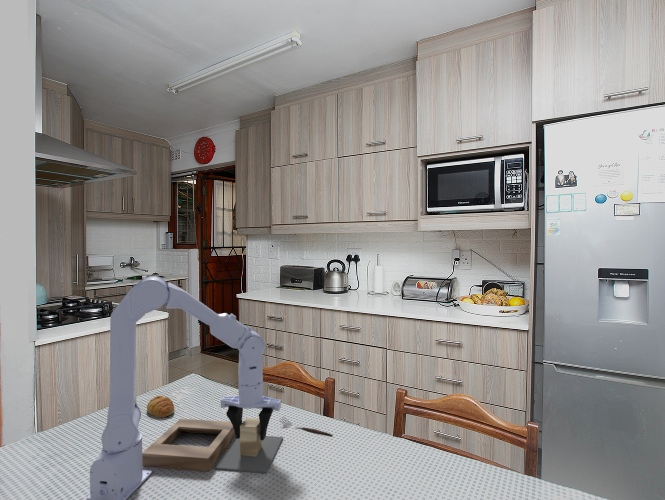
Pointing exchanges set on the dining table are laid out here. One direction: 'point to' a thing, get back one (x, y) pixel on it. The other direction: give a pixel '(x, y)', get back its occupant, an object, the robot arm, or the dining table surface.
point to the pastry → (160, 406)
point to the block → (250, 437)
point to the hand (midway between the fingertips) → (251, 437)
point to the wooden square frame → (189, 456)
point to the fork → (304, 428)
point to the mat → (250, 457)
